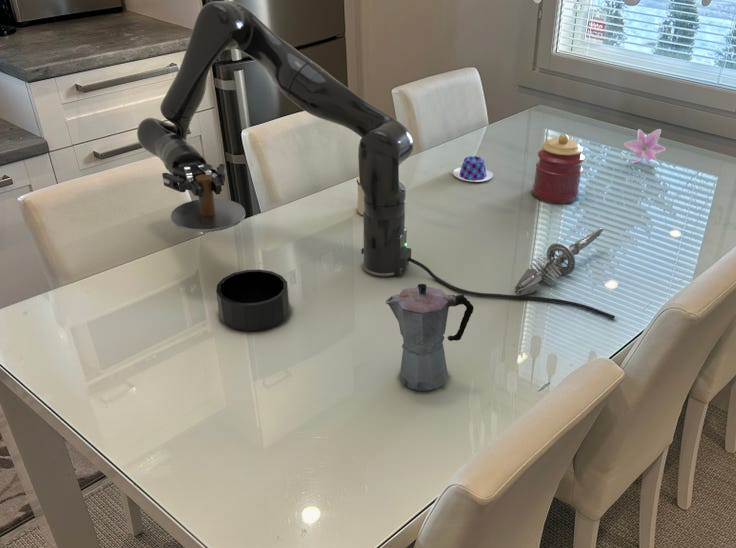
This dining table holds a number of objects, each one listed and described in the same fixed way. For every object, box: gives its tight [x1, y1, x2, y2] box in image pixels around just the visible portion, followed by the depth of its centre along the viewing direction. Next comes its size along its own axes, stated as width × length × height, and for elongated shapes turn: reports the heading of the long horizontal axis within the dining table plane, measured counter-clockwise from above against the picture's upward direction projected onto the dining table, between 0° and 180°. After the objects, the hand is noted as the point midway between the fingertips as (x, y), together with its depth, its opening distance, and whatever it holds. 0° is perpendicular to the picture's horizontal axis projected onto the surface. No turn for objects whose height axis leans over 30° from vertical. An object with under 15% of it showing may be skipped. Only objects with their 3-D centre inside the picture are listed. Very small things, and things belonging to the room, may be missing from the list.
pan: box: [215, 269, 290, 333], centre depth 150 cm, size 14×14×6 cm
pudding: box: [452, 155, 494, 183], centre depth 216 cm, size 12×12×5 cm
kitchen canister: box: [532, 133, 585, 205], centre depth 204 cm, size 13×13×18 cm
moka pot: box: [384, 283, 474, 392], centre depth 131 cm, size 10×15×20 cm, turn 95°
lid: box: [170, 174, 246, 233], centre depth 151 cm, size 15×15×9 cm
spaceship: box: [512, 227, 604, 296], centre depth 170 cm, size 8×35×8 cm
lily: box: [623, 128, 667, 168], centre depth 234 cm, size 12×12×10 cm
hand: (209, 191), depth 147 cm, fingers closed on lid, 3 cm apart
